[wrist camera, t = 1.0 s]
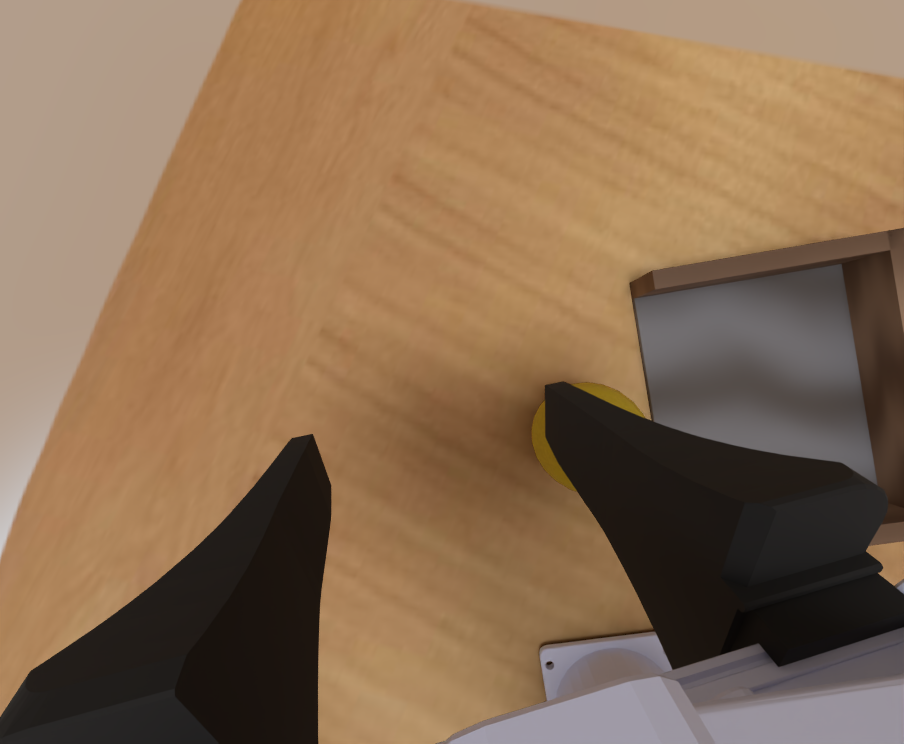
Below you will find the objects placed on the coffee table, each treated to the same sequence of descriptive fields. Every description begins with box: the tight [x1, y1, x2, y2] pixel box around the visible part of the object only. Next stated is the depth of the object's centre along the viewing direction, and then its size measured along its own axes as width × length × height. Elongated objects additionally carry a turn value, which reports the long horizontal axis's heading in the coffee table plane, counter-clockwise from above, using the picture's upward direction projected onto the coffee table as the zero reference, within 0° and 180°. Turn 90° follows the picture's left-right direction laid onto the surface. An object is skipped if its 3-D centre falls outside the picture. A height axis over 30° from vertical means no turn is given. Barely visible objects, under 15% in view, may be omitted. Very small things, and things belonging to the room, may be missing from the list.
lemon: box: [531, 382, 645, 491], centre depth 20 cm, size 6×6×8 cm
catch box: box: [630, 228, 904, 546], centre depth 22 cm, size 16×13×3 cm
